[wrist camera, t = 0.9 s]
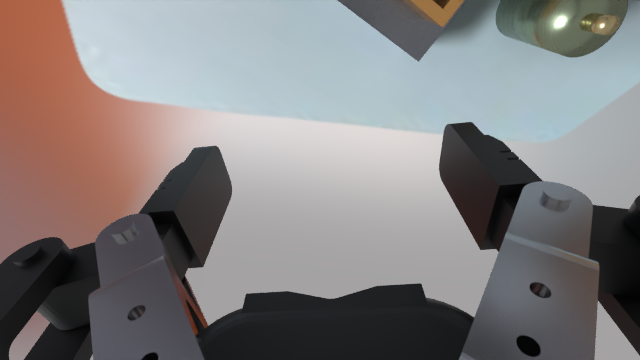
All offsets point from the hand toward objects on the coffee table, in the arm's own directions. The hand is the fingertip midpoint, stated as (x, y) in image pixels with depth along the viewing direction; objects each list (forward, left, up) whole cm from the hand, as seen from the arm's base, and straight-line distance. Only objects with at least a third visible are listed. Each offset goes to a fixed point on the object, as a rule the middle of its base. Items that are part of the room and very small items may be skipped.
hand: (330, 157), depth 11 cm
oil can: (-13, +15, -25) cm, 32 cm away
